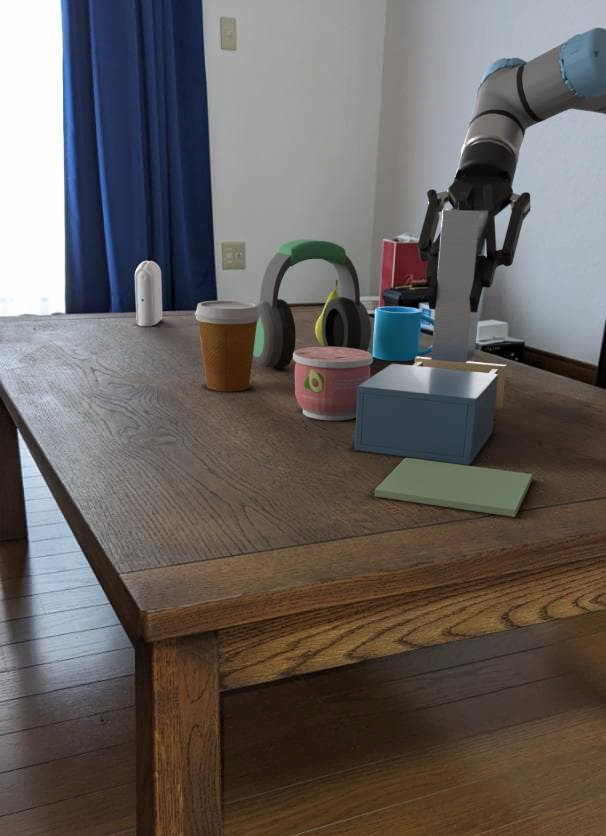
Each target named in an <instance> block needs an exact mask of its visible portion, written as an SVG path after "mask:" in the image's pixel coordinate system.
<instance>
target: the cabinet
mask: <svg viewBox="0 0 606 836" xmlns="http://www.w3.org/2000/svg"><path fill="white" fill-rule="evenodd" d="M497 380H498V374H492V373H481V372H471V371H461V370H451V369H441V368H430V367H420V366H412V365H409V364H398V363H391V364H389V365H388V366H386V367H385V368H383V369H382V370H380V371H379V372H377V373H375V374H374V375H373V376H370V379H368V380H367V381H365V382H364V383H362V384H361V385H359V386H358V393H357V412H356V417H355V434H354V451H358V452H367V453H375V454H381V455H388V456H389V455H390V456H397V457H404V458H413V459H420V460H428V461H436V462H443V463H451V464H458V465H466V466H471V464H472V462H473V461H474V460H475V458H476V457H477V456H478V455H479V453H480V451H481V450H482V448H483V447H484V446H485V444H486V443H487V441H488V440H489V438H490V437H491V436H492V434H493V428H494V427H493V426H494V417H495V409H496V408H495V400H496V391H497V382H498V381H497Z"/></svg>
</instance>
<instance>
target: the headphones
mask: <svg viewBox="0 0 606 836" xmlns="http://www.w3.org/2000/svg"><path fill="white" fill-rule="evenodd" d="M309 260H324V261H326V262H328V263H329V264H331V265H332V266H333V267H334V268H335V270H336V273H337V275H338V280H339V284H340V296H339V297H335V298H333V299H331V300H330V301H329V302H328V303H327V305H326V307H325V306H324V307H325V310H324V313H323V319H322V339H323V344H324V346H323V347H345V348H354V349H359V350H363V351H367V352H368V350H369V346H370V344H371V339H372V324H371V318H370V314H369V312H368V309H367V307H366V306H365V304H364V303H363V302H362V301H361V295H360V294H361V292H360V291H361V290H360V282H359V277H358V273H357V270H356V267H355V265H354V263H353V261H352V260H351V259H350V258H349V256H348V255H346V249H345V248H344V247H342V246H341V245H339V244H337V243H334V242H331V241H328V240H327V241H326V240H320V239H314V238H300V239H295V240H291V241H288V242H285V243H283V244H282V245H280V246H279V247H278V249H277V253H276V254H275V255H273V257H272V258H271V259H270V261H269V263H268V264H267V266H266V269H265V271H264V274H263V278H262V282H261V287H260V297H259V302H257V303H256V304H257V307H258V311H259V313H260V317H259V320H258V321H257V328H256V336H255V344H254V351H253V359H254V361H255V363H257V364H259V365H260V366H261V367H264V368H265V367H266V368H269V367H270V368H274V369H282V368H286V367H287V366H289V365H290V363H291V362H292V360H293V353H294V352H295V351H296V350H295V349H296V339H297V338H296V337H297V335H296V334H297V333H296V324H295V319H294V314H293V312H292V309H291V306H290V304H289V303H288V302H287V301H285V299H282V298H279V292H280V287H281V284H282V281H283V278H284V276H285V274H286V273H287V271H288V270H289V268H290V267H294V266H296V265H297V264H299V263H301V262H304V261H309Z"/></svg>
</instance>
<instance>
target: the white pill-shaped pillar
mask: <svg viewBox="0 0 606 836" xmlns="http://www.w3.org/2000/svg"><path fill="white" fill-rule="evenodd" d="M162 284H163V283H162V269H161V268H160V266H159V264H158V263H156V262H155V261H153V260H144V261H142V262H140V263H139V265H138V266H137V268H136V270H135V272H134V290H135V291H134V293H135V314H136V315H135V316H136V324H137V325H138V326H139V327H152V326H155V325H157V324H158V323H159V322H160V321H161V320H162V319H163V289H162V286H163V285H162Z"/></svg>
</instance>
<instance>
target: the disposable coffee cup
mask: <svg viewBox="0 0 606 836" xmlns="http://www.w3.org/2000/svg"><path fill="white" fill-rule="evenodd" d="M194 316H195V317H196V320H197V323H198V332H199V339H200V347H201V353H202V361H203V367H204V375H205V381H206V382H205V383H206V387H207V388H208V389H209V390H212V391H218V392H241V391H244V390H247V389H249V388H250V383H251V373H252V366H253V359H254V358H253V351H254V344H255V336H256V328H257V321H258V320H259V317H260V313H259V311H258V307H257V303H254V302H251V301H250V302H249V301H242V300H207V301H201V302H198V303H197V306H196V310H195V311H194Z"/></svg>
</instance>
